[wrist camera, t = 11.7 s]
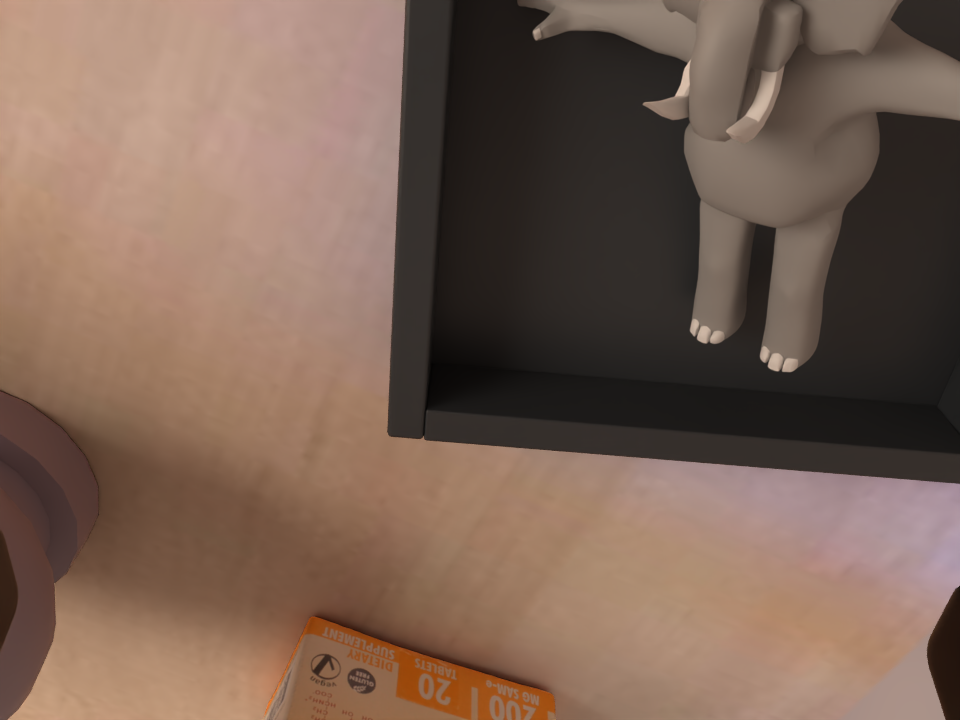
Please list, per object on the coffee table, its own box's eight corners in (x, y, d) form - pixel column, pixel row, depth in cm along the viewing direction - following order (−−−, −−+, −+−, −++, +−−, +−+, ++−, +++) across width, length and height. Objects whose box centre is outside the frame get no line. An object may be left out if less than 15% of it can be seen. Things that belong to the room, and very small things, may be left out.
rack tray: (398, 374, 20) (386, 437, 18) (437, -429, 13) (425, -490, 11) (945, 420, 21) (1000, 488, 19) (1286, -329, 13) (1446, -368, 11)
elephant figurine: (486, 330, 19) (380, -70, 12) (630, 176, 21) (611, -232, 15) (942, 561, 14) (1206, 107, 7) (1063, 327, 16) (1351, -185, 10)
